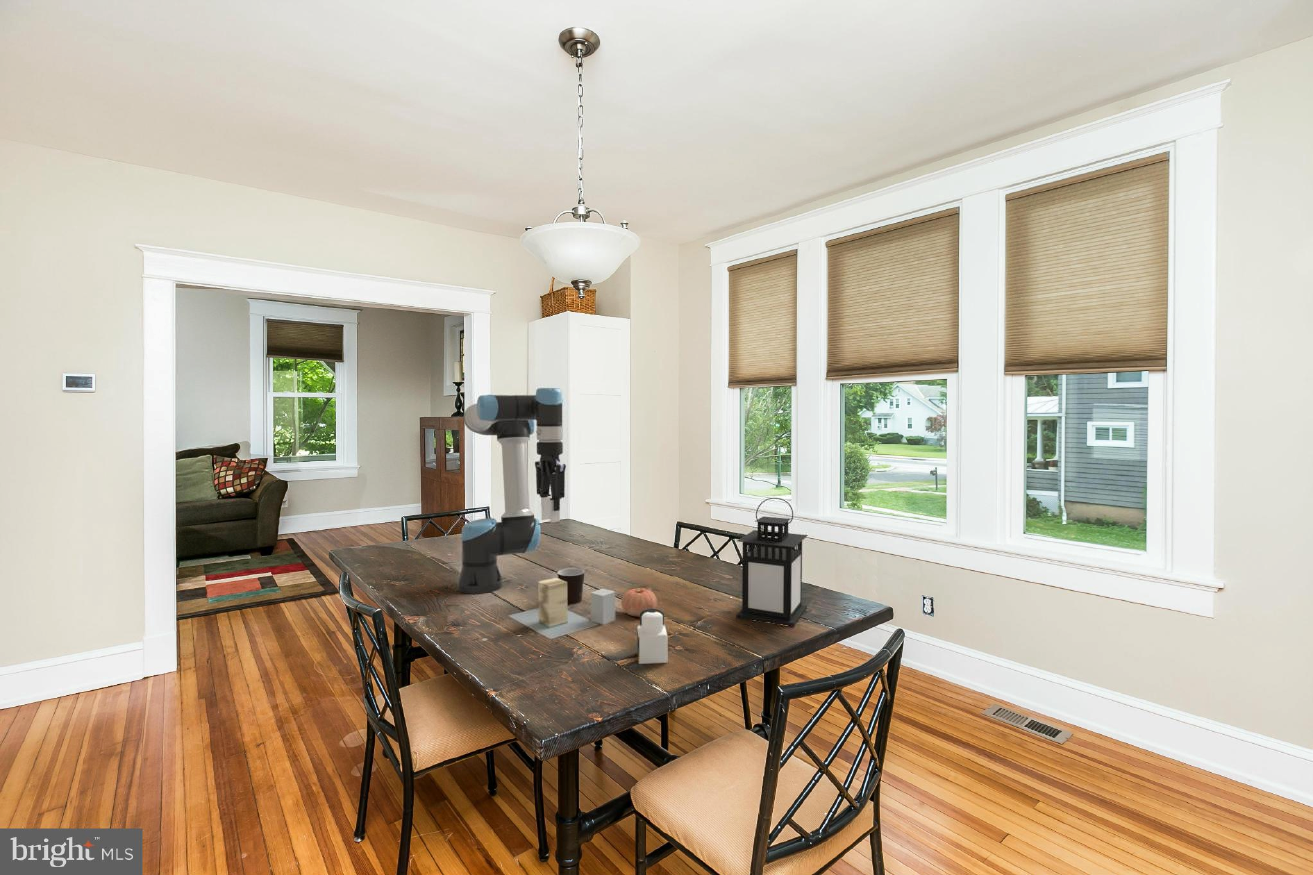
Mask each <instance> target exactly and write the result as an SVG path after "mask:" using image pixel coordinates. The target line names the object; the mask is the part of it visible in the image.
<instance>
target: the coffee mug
mask: <svg viewBox="0 0 1313 875" xmlns="http://www.w3.org/2000/svg"><path fill="white" fill-rule="evenodd" d="M585 572H586V571H585V570H584V569H581V568H575V567H572V568H564V569H560V570H558V571H557V578H558V579H561V580H563V581H566V582H567V605H576V604H580V603H581V602H582V601H583V600H582V599H583V592H584V591H583V590H584V582H585V581H584V580H585Z"/></svg>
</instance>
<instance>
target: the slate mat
mask: <svg viewBox="0 0 1313 875" xmlns="http://www.w3.org/2000/svg"><path fill="white" fill-rule="evenodd" d="M508 617H509V618H511V619H513V620H515V621H517V622H519V623H520V624H523V625H524V626H525V627H527V628H530V629H531V630H533V631H534V632H536V633H539V634H541V635H542V636H545V637H546V638H548V640H549V639H550V640H553V639H555V638H559V637H562V636H566V635H568V634H572V633H573V634H574V633H576V632H579V631H583V630H585V629H590V628H592V627H596V626H599V625H600V624H599V623H596V622H593V621H591V619H588V618H585V617H584V616H581V615H579V614H577V613H575V612H572V611H570V610H568V623H566V624H563V625H559V626H555V627H552V628H548V627H547V626H545V625H543V624H541V623H539V607H537V608H533V609H529V610H526V611H525V610H524V611H522V612H517V613H513V614H509V615H508Z"/></svg>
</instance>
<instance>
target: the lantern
mask: <svg viewBox="0 0 1313 875" xmlns="http://www.w3.org/2000/svg"><path fill="white" fill-rule="evenodd" d="M774 499H775V500H780V501H783V502H785V503H786V504H787V505H788V506H789V508H790V510H791V518H788V517H787V518H786V517H777V516H775V517H774V516H773V517H772V516H761V517H759V518H758V510H759V509H760V507H761V505H762V504H763V503H765V502H766V501H769V500H774ZM755 518H756V520H755V521H754V522H755V523H756V522H757V530H756V529H754V530H752V531H750V532H749V533H747V534H745V535H744V536H742V537H740V538H739V539H737V540H736V542H739V543H740V542H741V543H742V567H741V569H742V571H741V572H742V574H741V575H742V581H741V583H742V586H741V588H742V590H741V591H742V595H741V596H742V598H741V599H742V602H741V603H742V604H741V606H742V607H741V609H740V610H739V611H738V612H737V613H736V614H735V619H738V618H739V620H744V619H747V620H746V621H750V620H756V621H755V622H757V621H761V622H760V623H763V622H770V623H775V624H774V625H776V624H783V625H788V626H795V627H796V625H797V624H798V623H797V622H799V621H800V620H801V618H802V617H803V616H804V614H805V613H806V611H807V610H808V605H807V604H803V603H802V601H803V600H802V599H803V598H802V595H803V592H802V590H803V589H802V588H803V584H802V583H803V540H804V539H806V538H807V537H808V536H809V534H808V535H807V534H800V533H799V534H798V533H791V532H790V533H789V524H791V523H792V521H793V520H794V510H793V507H792V506H791V504H790V503H789V502H788V501H786V500H785V499H784V498H781V497H768V498H767V499H764V500H763V501H761V503H760V504H759V505H758V506H757V508H756V513H755ZM769 527H771V528H770V531H769ZM776 527H777V532H776ZM806 609H807V610H806ZM805 610H806V611H805ZM804 612H805V613H804ZM803 613H804V614H803ZM802 615H803V616H802ZM801 616H802V617H801ZM800 617H801V618H800ZM799 619H800V620H799ZM798 620H799V621H798ZM796 623H797V624H796ZM795 624H796V625H795ZM788 626H787V627H788Z"/></svg>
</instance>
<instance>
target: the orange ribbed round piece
mask: <svg viewBox="0 0 1313 875" xmlns="http://www.w3.org/2000/svg"><path fill="white" fill-rule="evenodd" d="M620 603H621V604H620V605H621V607H622V609H623V611H624V612H625V613H626V614H627V615H629V616H630V617H636V618H640V613H641V612H642V611H643V610H646V609H657V606H658V604H657V603H658V599H657V597H656V595H655V593H654V592H653V591H651V590H650V589H646V588H642V587H639V588H638V587H637V588H632V589H629V590H627V591H625V593H624V594H623V595H622V597H621V602H620Z"/></svg>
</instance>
